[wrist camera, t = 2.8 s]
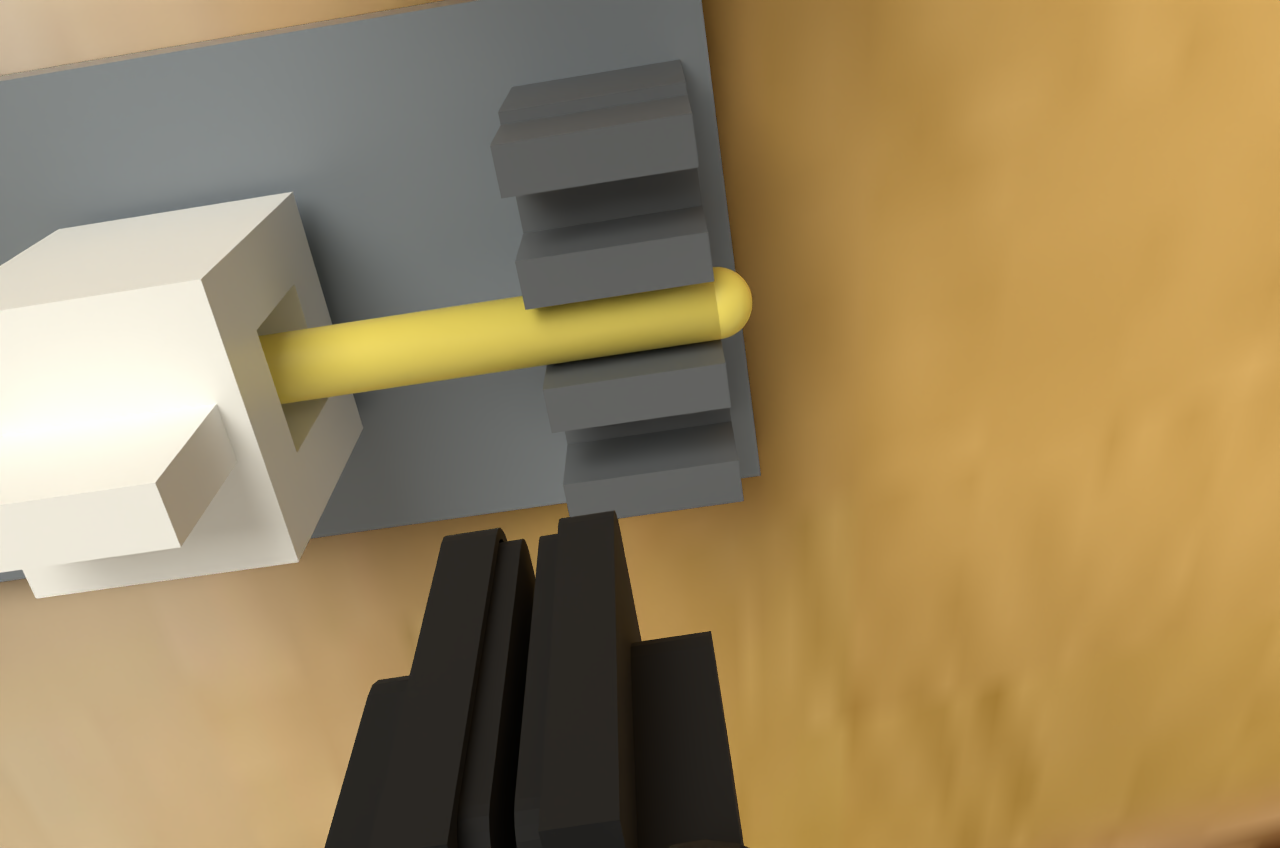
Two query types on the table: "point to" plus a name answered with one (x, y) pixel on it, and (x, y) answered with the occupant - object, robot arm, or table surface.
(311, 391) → the fibre cord
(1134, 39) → the table surface
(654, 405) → the board
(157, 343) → the sleeve
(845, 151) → the table surface
